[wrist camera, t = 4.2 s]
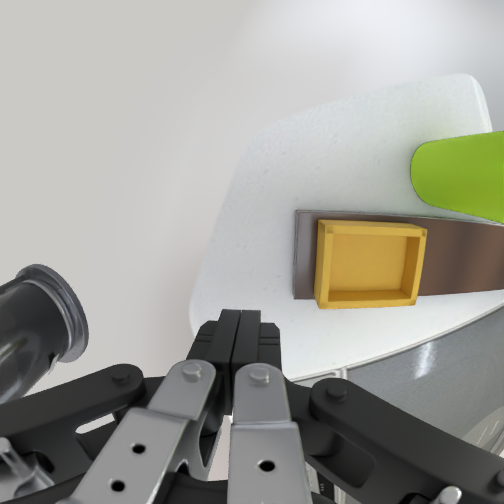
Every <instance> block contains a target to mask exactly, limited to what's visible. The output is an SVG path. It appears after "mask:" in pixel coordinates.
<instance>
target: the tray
mask: <svg viewBox="0 0 504 504" xmlns="http://www.w3.org/2000/svg"><path fill="white" fill-rule="evenodd" d="M426 237H427V229H425V228H422V227H419V226H416V225H413V224H407V223H390V222H370V221H346V220H318V238H317V256H316V271H315V284H314V297H315V300H316V302H317V305H318V307H319V309H345V308H374V307H394V306H411V305H415V304H416V299H417V294H418V289H419V283H420V278H421V272H422V266H423V259H424V252H425V244H426Z"/></svg>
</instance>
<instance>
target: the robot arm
mask: <svg viewBox="0 0 504 504" xmlns="http://www.w3.org/2000/svg"><path fill="white" fill-rule="evenodd" d="M260 322H261V310H242V313H241V310H231V309H222V311H221V314H220V317H219V320H218V321H210V320H209V321H207V322H206V323H205V324H203V325H202V326H201V327H200V329H199V331H198V333H197V336H196V338H195V341H194V342H193V344H192V347H191V349H190V351H189V354H188V356H187V358H186V360H184V361H181V362H178V363H176V364H175V365H174V366H172V368H171V369H170V370H169V372H168V374H167V375H166V376H163V377H151V378H150V377H149V378H144V377H143V373H142V371H141V370H140V369H139V368H138V367H136V366H134V365H131V364H117V365H113V366H111V367H108V368H105V369H102V370H100V371H97V372H95V373H92V374H89V375H86V376H84V377H81V378H78V379H75V380H73V381H70V382H67V383H64V384H61V385H58V386H55V387H53V388H50V389H47V390H44V391H41V392H38V393H35V394H32V395H29V396H25V394H26V393H27V392H28V391H29V390H30V389H31V388H32V387H33V386H34V385H35V384H36V383H37V382H38V381H39V380H40V379H41V377H43V376H44V375H45V374H46V373H47V372H48V371H49V373H50V372H51V371H52V370H53V368H54V366H55V363H56V362H57V361H59V360H60V359H61V358H62V357H63V356H65V355H66V354H67V353H68V352H69V351H70V350H71V348H72V347H73V344H74V339H75V333H74V327H73V323H72V319H71V317H70V314H69V312H68V310H67V308H66V306H65V304H64V303H63V301H62V300H61V298H60V297H59V295H58V294H57V293H56V292H55V291H54V290H53V289H52V288H51V287H50V286H49V285H48V284H46V283H45V282H43V281H41V280H39V279H36V278H29V279H26V278H25V277H24V276H23V275H21V276H19V277H17V278H15V279H14V280H11V281H9V282H8V283H6V284H4V285H2V286H0V504H337V503H335V502H333V501H332V500H330V499H329V498H326V497H324V496H322V495H320V494H317V493H314V492H312V491H311V490H310V485H309V480H308V474H307V469H306V464H305V461H306V462H307V463H308V464H309V465H311V466H312V467H313V468H314V469H316V470H317V471H318V472H319V473H321V474H322V475H323V476H324V477H326V478H327V479H328V480H330V481H331V482H332V483H334V484H335V485H336V486H338V487H339V488H340V489H342V490H343V491H345V492H346V493H347V494H349V495H350V496H352V497H353V498H354V499H356V500H357V501H359V502H360V503H362V504H504V458H502V457H499V456H497V455H495V454H492V453H490V452H488V451H485V450H483V449H481V448H478V447H476V446H474V445H472V444H469V443H467V442H465V441H463V440H461V439H459V438H456V437H454V436H452V435H450V434H448V433H446V432H444V431H442V430H440V429H438V428H436V427H434V426H432V425H430V424H428V423H426V422H424V421H422V420H420V419H418V418H416V417H414V416H412V415H410V414H408V413H406V412H404V411H403V410H401V409H399V408H397V407H395V406H393V405H391V404H389V403H388V402H386V401H384V400H382V399H380V398H379V397H377V396H375V395H373V394H371V393H370V392H368V391H366V390H364V389H363V388H361V387H359V386H357V385H356V384H354V383H352V382H350V381H348V380H345V379H342V378H326V379H322V380H320V381H318V382H316V383H315V384H314V385H313V387H312V388H309V387H304V386H300V385H297V384H294V383H292V382H290V381H289V380H288V379H287V378H286V377H285V376H284V375H283V373H282V366H281V347H280V330H279V328H278V327H277V326H276V325H275V324H274V323H260ZM24 396H25V397H24ZM232 411H233V423H231V431H230V450H229V471H228V472H229V473H228V480H219V481H208V475H209V471H210V468H211V465H212V462H213V458H214V455H215V452H216V449H217V445H218V442H219V439H220V435H221V425H222V422H223V416H224V415H231V416H232ZM110 413H112V415H113V417H114V419H115V421H113V422H110V423H108V424H106V425H103V426H101V427H99V428H96V429H94V430H91V431H89V432H86V433H83V434H79V433H76V432H75V431H76V429H77V428H78V427H79V426H81V425H84V424H86V423H89V422H91V421H94V420H96V419H98V418H101V417H103V416H106V415H108V414H110Z"/></svg>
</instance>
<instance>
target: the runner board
mask: <svg viewBox="0 0 504 504" xmlns="http://www.w3.org/2000/svg"><path fill="white" fill-rule="evenodd" d="M318 220H346V221H370V222H390V223H407V224H413V225H416V226H419V227H422V228H425V229H427V237H426V244H425V252H424V259H423V266H422V272H421V278H420V283H419V289H418V294H417V296H429V295H445V294H458V293H470V292H482V291H492V290H502V289H504V225H502V224H493V223H485V222H476V221H466V220H456V219H445V218H434V217H422V216H409V215H394V214H378V213H360V212H338V211H311V210H296V236H295V261H294V282H293V296H294V299H315V297H314V284H315V271H316V256H317V238H318Z"/></svg>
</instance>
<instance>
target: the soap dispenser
mask: <svg viewBox="0 0 504 504" xmlns="http://www.w3.org/2000/svg"><path fill="white" fill-rule="evenodd" d="M410 172H411V180H412V184H413V187H414V189H415V191H416V193H417V194H418V196H419V197H420V198H421V199H422V200H423V201H424V202H425V203H427V204H428V205H431V206H434V207H439V208H443V209H448V210H452V211H456V212H461V213H465V214H469V215H473V216H477V217H481V218H485V219H488V220H492V221H496V222H500V223H503V224H504V131H499V132H490V133H483V134H475V135H468V136H461V137H455V138H449V139H443V140H437V141H431V142H427V143H424V144H422V145H421V146H420V147H419V148H418V149H417V150H416V152H415V153H414V155H413V158H412V161H411V169H410Z"/></svg>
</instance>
